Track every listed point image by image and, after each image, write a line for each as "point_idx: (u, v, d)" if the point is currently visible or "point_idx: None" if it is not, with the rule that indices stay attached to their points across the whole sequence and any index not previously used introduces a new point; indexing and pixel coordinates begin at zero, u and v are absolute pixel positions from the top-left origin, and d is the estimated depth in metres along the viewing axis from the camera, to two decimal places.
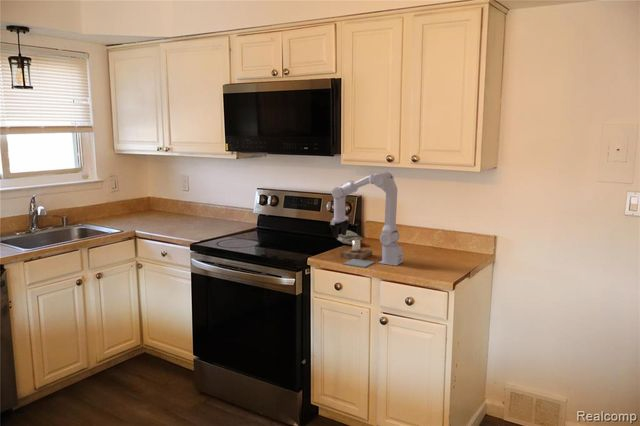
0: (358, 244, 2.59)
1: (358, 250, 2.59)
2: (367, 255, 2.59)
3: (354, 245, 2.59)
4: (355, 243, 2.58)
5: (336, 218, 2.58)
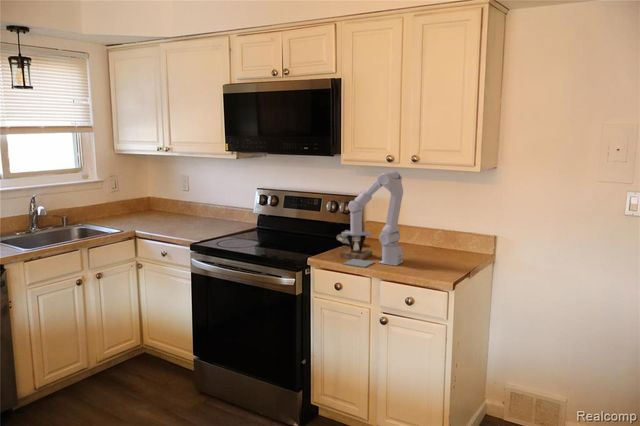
0: (358, 244, 2.59)
1: (358, 250, 2.59)
2: (367, 255, 2.59)
3: (354, 245, 2.59)
4: (355, 243, 2.58)
5: None
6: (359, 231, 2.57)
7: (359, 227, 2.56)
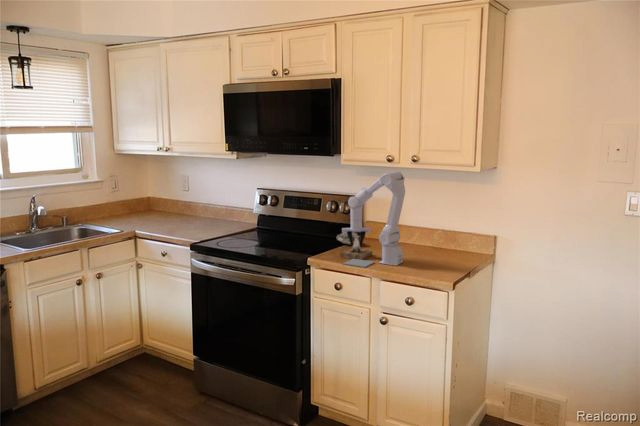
0: (358, 240, 2.58)
1: (358, 246, 2.59)
2: (367, 255, 2.59)
3: (354, 241, 2.58)
4: (355, 239, 2.58)
5: None
6: (359, 227, 2.56)
7: (359, 223, 2.56)
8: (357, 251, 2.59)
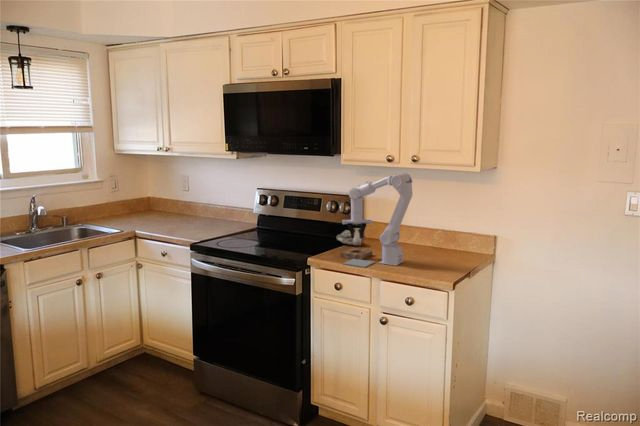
0: (359, 232, 2.54)
1: (359, 238, 2.55)
2: (367, 255, 2.59)
3: (355, 233, 2.55)
4: (356, 231, 2.54)
5: (351, 219, 2.55)
6: (360, 219, 2.52)
7: (360, 214, 2.52)
8: (358, 243, 2.55)
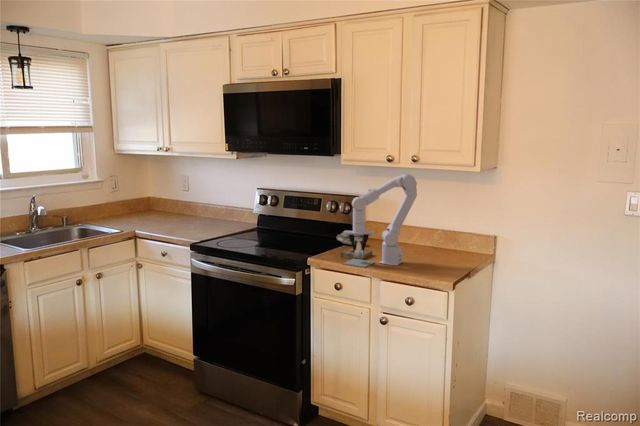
0: (361, 244, 2.44)
1: (361, 250, 2.45)
2: (367, 255, 2.59)
3: (356, 245, 2.44)
4: (357, 243, 2.44)
5: None
6: (362, 230, 2.42)
7: (362, 226, 2.42)
8: (359, 255, 2.45)
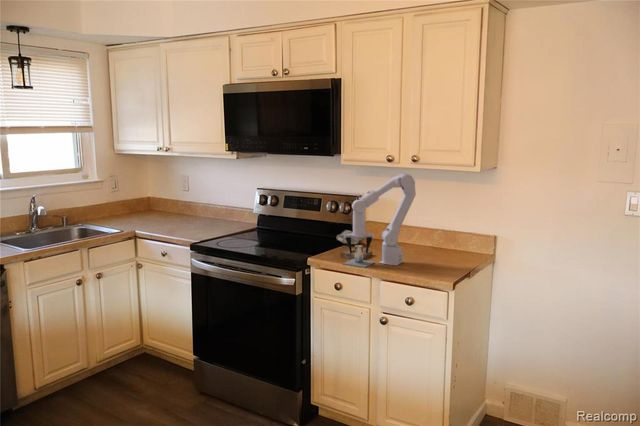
0: (361, 249, 2.45)
1: (361, 256, 2.45)
2: (367, 255, 2.59)
3: (356, 251, 2.45)
4: (358, 248, 2.44)
5: None
6: (362, 233, 2.42)
7: (362, 228, 2.42)
8: (360, 261, 2.45)
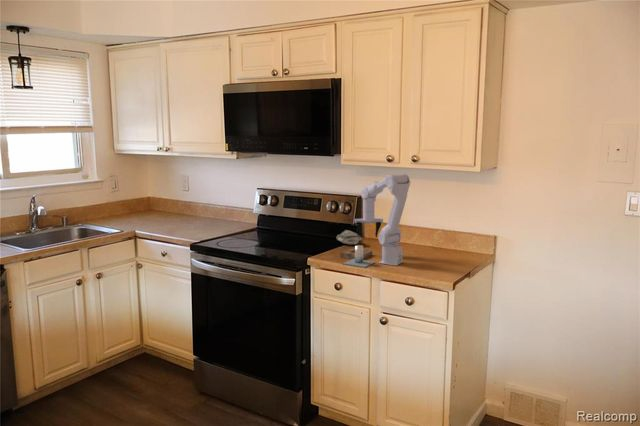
0: (361, 249, 2.45)
1: (361, 256, 2.45)
2: (367, 255, 2.59)
3: (357, 250, 2.45)
4: (358, 248, 2.44)
5: (363, 218, 2.61)
6: (372, 218, 2.58)
7: (372, 214, 2.58)
8: (360, 261, 2.45)
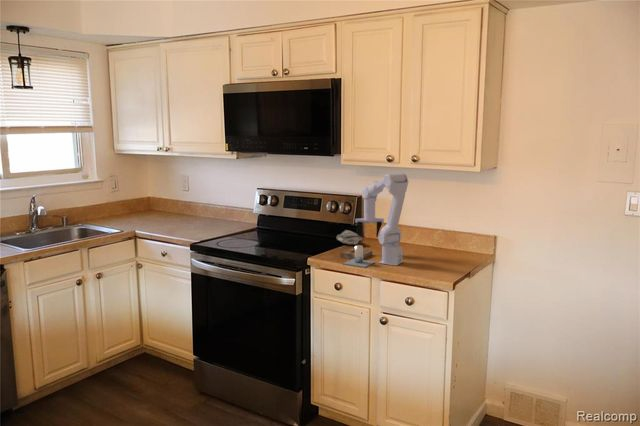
0: (360, 250, 2.44)
1: (361, 256, 2.45)
2: (367, 255, 2.59)
3: (356, 251, 2.45)
4: (357, 248, 2.44)
5: (364, 217, 2.62)
6: (372, 217, 2.59)
7: (373, 213, 2.59)
8: (359, 261, 2.45)
